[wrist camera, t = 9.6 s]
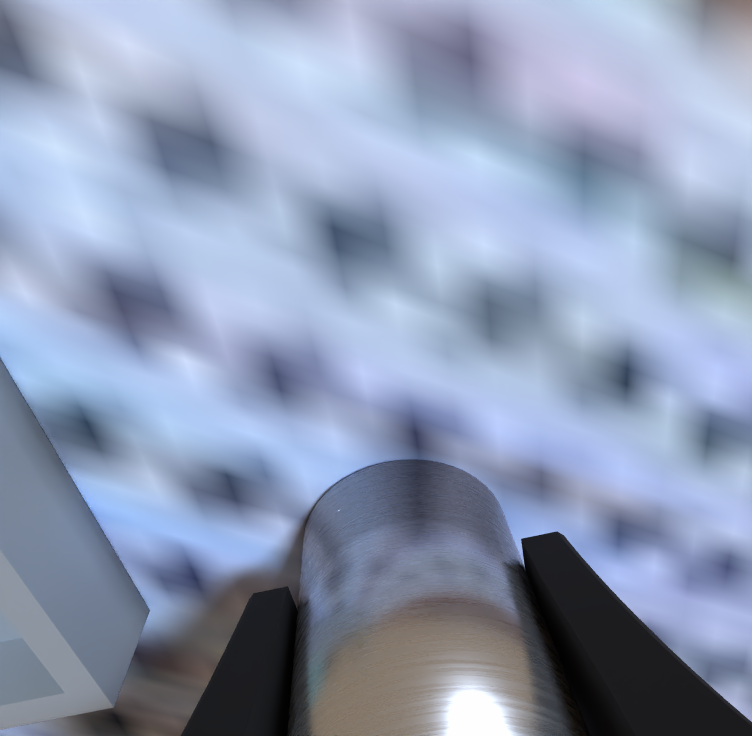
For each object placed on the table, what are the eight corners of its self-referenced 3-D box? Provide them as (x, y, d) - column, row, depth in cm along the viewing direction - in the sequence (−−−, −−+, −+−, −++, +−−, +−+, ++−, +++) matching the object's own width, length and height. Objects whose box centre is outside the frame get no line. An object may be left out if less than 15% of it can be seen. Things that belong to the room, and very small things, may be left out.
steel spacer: (515, 592, 12) (625, 903, 7) (332, 629, 12) (327, 954, 7) (493, 439, 10) (621, 725, 5) (277, 485, 10) (226, 800, 6)
